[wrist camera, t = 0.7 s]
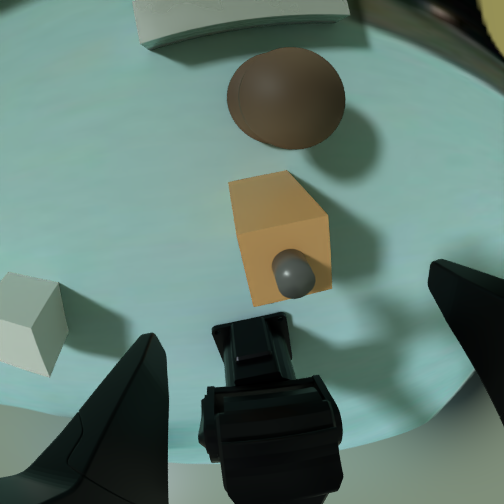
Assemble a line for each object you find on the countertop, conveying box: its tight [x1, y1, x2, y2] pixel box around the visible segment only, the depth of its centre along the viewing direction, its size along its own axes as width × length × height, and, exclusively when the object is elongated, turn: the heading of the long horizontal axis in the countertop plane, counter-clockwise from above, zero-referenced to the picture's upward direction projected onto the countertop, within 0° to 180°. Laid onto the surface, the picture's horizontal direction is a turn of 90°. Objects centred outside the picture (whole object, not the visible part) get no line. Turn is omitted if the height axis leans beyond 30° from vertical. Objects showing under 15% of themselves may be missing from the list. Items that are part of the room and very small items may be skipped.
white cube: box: [0, 272, 69, 378], centre depth 20 cm, size 6×6×6 cm
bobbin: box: [227, 47, 345, 149], centre depth 15 cm, size 6×6×5 cm
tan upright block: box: [228, 170, 332, 307], centre depth 16 cm, size 4×4×10 cm
